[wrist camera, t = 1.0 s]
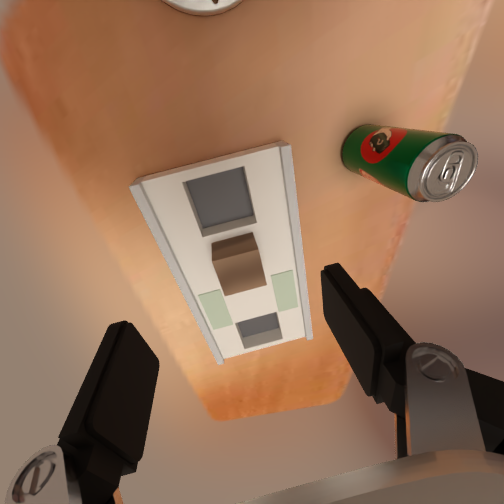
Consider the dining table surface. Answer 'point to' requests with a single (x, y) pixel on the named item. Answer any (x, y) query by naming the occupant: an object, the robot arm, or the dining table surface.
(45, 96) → the dining table surface
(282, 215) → the box
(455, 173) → the soda can
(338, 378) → the dining table surface
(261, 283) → the walnut block
